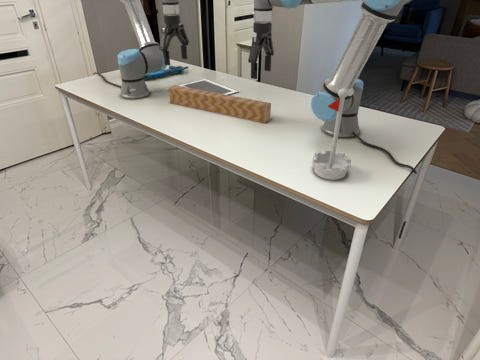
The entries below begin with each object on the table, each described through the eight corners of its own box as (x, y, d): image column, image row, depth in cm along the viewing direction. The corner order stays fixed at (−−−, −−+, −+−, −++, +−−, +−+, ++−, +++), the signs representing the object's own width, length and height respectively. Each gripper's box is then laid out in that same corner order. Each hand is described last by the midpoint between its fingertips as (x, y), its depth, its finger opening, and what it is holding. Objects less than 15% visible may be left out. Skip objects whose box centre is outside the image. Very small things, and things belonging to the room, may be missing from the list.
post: (270, 119, 161) (271, 103, 157) (265, 123, 157) (266, 106, 153) (176, 99, 183) (175, 85, 179) (170, 102, 179) (168, 88, 175)
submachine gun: (173, 60, 241) (193, 66, 225) (174, 66, 243) (193, 71, 227) (128, 69, 223) (145, 75, 206) (129, 75, 225) (146, 82, 208)
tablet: (177, 86, 203) (177, 85, 202) (205, 79, 214) (205, 78, 213) (209, 100, 182) (209, 99, 182) (238, 91, 193) (238, 91, 193)
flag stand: (334, 159, 128) (348, 80, 112) (356, 176, 118) (375, 92, 101) (304, 166, 124) (314, 84, 108) (324, 184, 114) (338, 97, 97)
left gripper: (181, 10, 167) (185, 55, 179) (146, 17, 149) (153, 66, 160) (193, 11, 164) (197, 57, 176) (160, 18, 146) (166, 68, 157)
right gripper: (267, 17, 148) (265, 66, 160) (239, 25, 130) (239, 80, 142) (283, 18, 145) (280, 68, 157) (257, 27, 127) (256, 83, 138)
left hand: (176, 61), depth 168 cm, fingers open, 13 cm apart
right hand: (261, 74), depth 149 cm, fingers open, 13 cm apart
